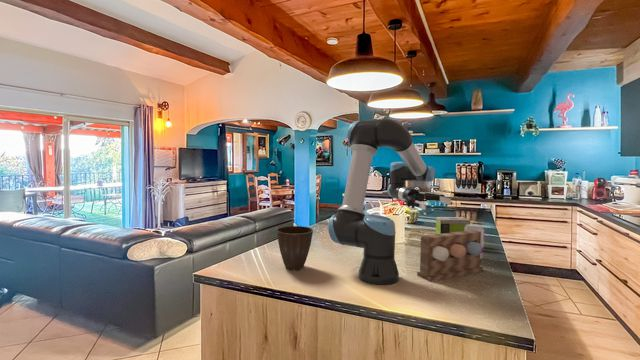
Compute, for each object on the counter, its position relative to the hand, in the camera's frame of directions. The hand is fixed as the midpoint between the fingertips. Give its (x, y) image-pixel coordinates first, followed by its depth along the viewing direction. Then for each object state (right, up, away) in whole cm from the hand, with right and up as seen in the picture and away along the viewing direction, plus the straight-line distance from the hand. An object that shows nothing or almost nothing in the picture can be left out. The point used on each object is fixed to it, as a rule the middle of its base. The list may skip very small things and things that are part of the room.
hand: (437, 204), depth 147 cm
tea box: (+18, -24, +30) cm, 43 cm away
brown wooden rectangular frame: (0, -27, -14) cm, 30 cm away
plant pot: (-62, -26, -8) cm, 68 cm away
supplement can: (+19, -26, +9) cm, 33 cm away
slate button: (+9, -19, -11) cm, 23 cm away
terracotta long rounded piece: (0, -19, -14) cm, 24 cm away
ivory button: (-8, -19, -18) cm, 28 cm away
